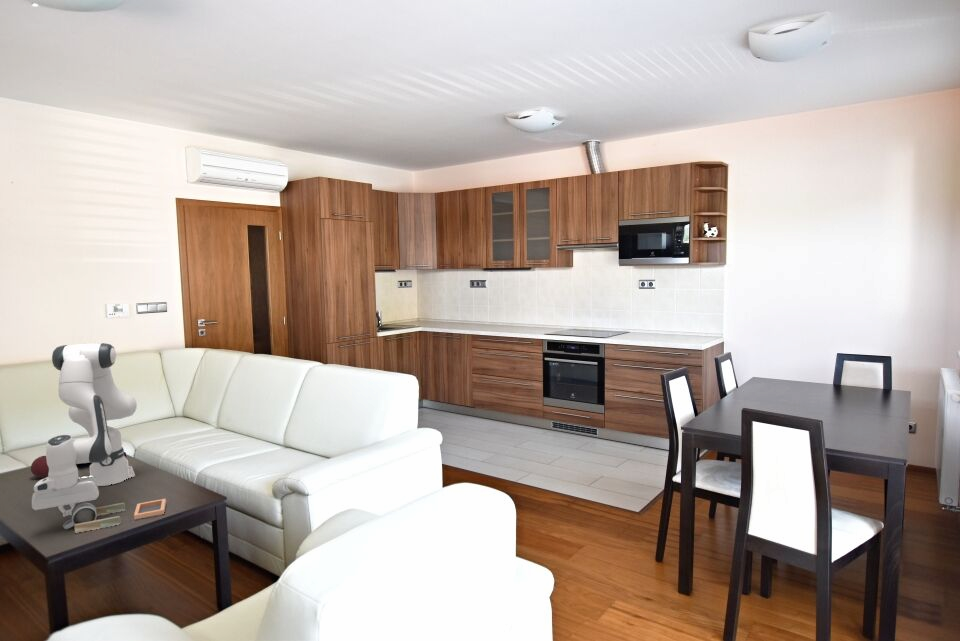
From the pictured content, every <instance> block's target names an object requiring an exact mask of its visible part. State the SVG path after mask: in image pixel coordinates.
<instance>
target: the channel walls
mask: <svg viewBox="0 0 960 641" xmlns="http://www.w3.org/2000/svg"><path fill="white" fill-rule="evenodd" d="M95 508H96V512H97V517H101V516H106V515H111V514H110V513H112V514H116V512H117V513H121V511H122V512H126V504H125V502H119V503H114V504H108V505H103V506H97V507H95ZM100 515H101V516H100ZM120 523H121V516H120V515H117V516H111V517H105V518H102V519H101V518H100V519H96V520H95V521H90V522H84V523H79V524H75V525H74V526H73V527H74V534H75V533H76V534H80V533H79V532H82V533H85V532H84V531H87V532H91V531H90V530H92V531H96V529H97V530H101V529H100V528H102V529H106V527H107V528H111V526H112V527H116V526H115V525H117V526H120V525H121V524H120ZM119 524H120V525H119Z"/></svg>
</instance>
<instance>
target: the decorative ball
mask: <svg viewBox="0 0 960 641" xmlns="http://www.w3.org/2000/svg"><path fill="white" fill-rule="evenodd" d="M30 471H31V473H32V474H33V475H34V476H35V477H37V478H40V479H41V478H42V479H44V478H47V477H49V476H48V473H49V467H48V465H47V459H46V455H42V456H39V457H37V458H36V459H34V460H33V461H32V463H31V465H30Z"/></svg>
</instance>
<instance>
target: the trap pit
mask: <svg viewBox="0 0 960 641" xmlns="http://www.w3.org/2000/svg"><path fill="white" fill-rule="evenodd" d="M166 499H167V498H161V499H157V500H151V501H145V502H140V503H137V504H136V507H135V511H134V513H133V514H134V515H133V519H134V520H135V521H138V520H137V519H140V520H142V519H141V518H145V519H147V518H146V517H150V518H153V517H152V516H155V517H158V516H157V515H160V516H163V515H162V514H164V515H165V513H164V512H166V506H167V500H166Z"/></svg>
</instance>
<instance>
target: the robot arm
mask: <svg viewBox="0 0 960 641" xmlns="http://www.w3.org/2000/svg"><path fill="white" fill-rule="evenodd" d="M51 354H52V355H51V356H52V357H51V362H52V365H53V367H54V368H55V369H56V370H58V371H60V372H59V380H58V397H59V399H60V400H61V402H63V403H64V404H65V405H67V406H69V407H68V417H69V418H70V420H71V421H72V422H74V423H76V425H79V426H81V427H82V428H84V429H85V430H86V433H87V434H88V435H89V437H77V438H73V437H72V436H71V435H69V434H63V435H57V436H54V437H51V438H50V439H48V441H47V442H46V449H45V454H46V455H45V456H46V459H47V465H48V467H49V473H48V477H44V478H42V479H40V480H38V481H37V482H36V483H35V485H34V486H33V491H34V492H33V493H32V494H31V495H32V496H31V508H32V509H33V510H34V511H38V510H45V509H50V508H55V507H58V508H57V509H58V510H59V511H60V512H61V513H62V517H64V518H65V517H69V516H73V512H74V509H75V506H76V504H79V503H87V502H90V501H94V500H97V499H98V497H99V495H100V491H99V487H104V486H105V487H106V486H110V485H111V484H112V485H115V484H119V483H122V482H124V480H125V481H126V479H127V480H128V478H129V479H132V478H134V477H136V474H135V471H134V468H133V466H132V465H129V460H128V459H127V457H126V456H125V449H124V447H123V445H122V444H123V442H122V434H121V431H119V430H118V429H117V428H115V427H113V426H109V425H108V423H107V421H112V420H113V421H114V420H121V419H126V418H128V417H132V416H133V415H134V414H135V413H136V410H137V406H138V405H137V401H136V399H135V398H134V396H132V395H130V394H127V393H126V392H124V391H122V390H121V389H120V388H119V387H118V386H117V384H115V382H114V379H113V376H112V371H111V370H112V369H111V367H112V366H114V364H115V361H116V359H117V352H116V350H115V347H114V346H113V345H112V344H110V343H103V342H102V343H96V342H94V343H92V342H91V343H78V344H70V345H67V344H65V345H64V344H63V345H60V346H57V347H55V349H54V350H53V352H52V353H51ZM87 463H91V464H90V465H89V475H87V476H79V469H78V467H77V465H78V464H87ZM131 477H132V478H131ZM67 505H68V506H69V509H67V510H66V509H65V508H64V507H65V506H67Z"/></svg>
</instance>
